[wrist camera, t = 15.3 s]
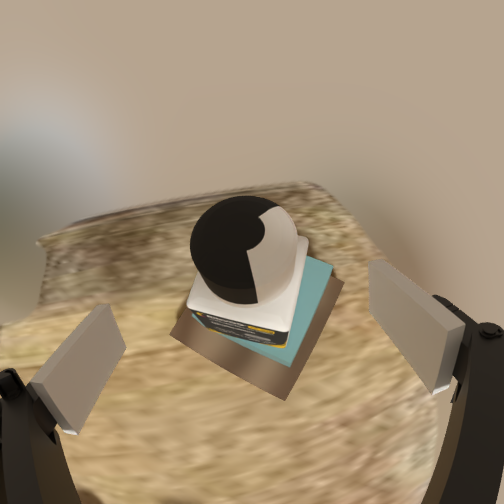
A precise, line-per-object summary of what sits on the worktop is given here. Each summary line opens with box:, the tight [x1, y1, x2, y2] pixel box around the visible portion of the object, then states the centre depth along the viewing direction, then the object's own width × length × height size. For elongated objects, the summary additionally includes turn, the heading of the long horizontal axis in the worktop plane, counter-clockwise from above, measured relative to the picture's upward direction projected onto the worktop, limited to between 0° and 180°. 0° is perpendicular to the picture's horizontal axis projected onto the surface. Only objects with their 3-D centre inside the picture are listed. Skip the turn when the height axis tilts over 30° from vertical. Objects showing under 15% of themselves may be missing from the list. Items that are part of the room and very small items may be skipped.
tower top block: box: [192, 255, 333, 367], centre depth 28 cm, size 10×10×4 cm
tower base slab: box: [169, 276, 344, 401], centre depth 32 cm, size 14×14×4 cm
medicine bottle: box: [187, 196, 309, 348], centre depth 21 cm, size 7×7×12 cm
